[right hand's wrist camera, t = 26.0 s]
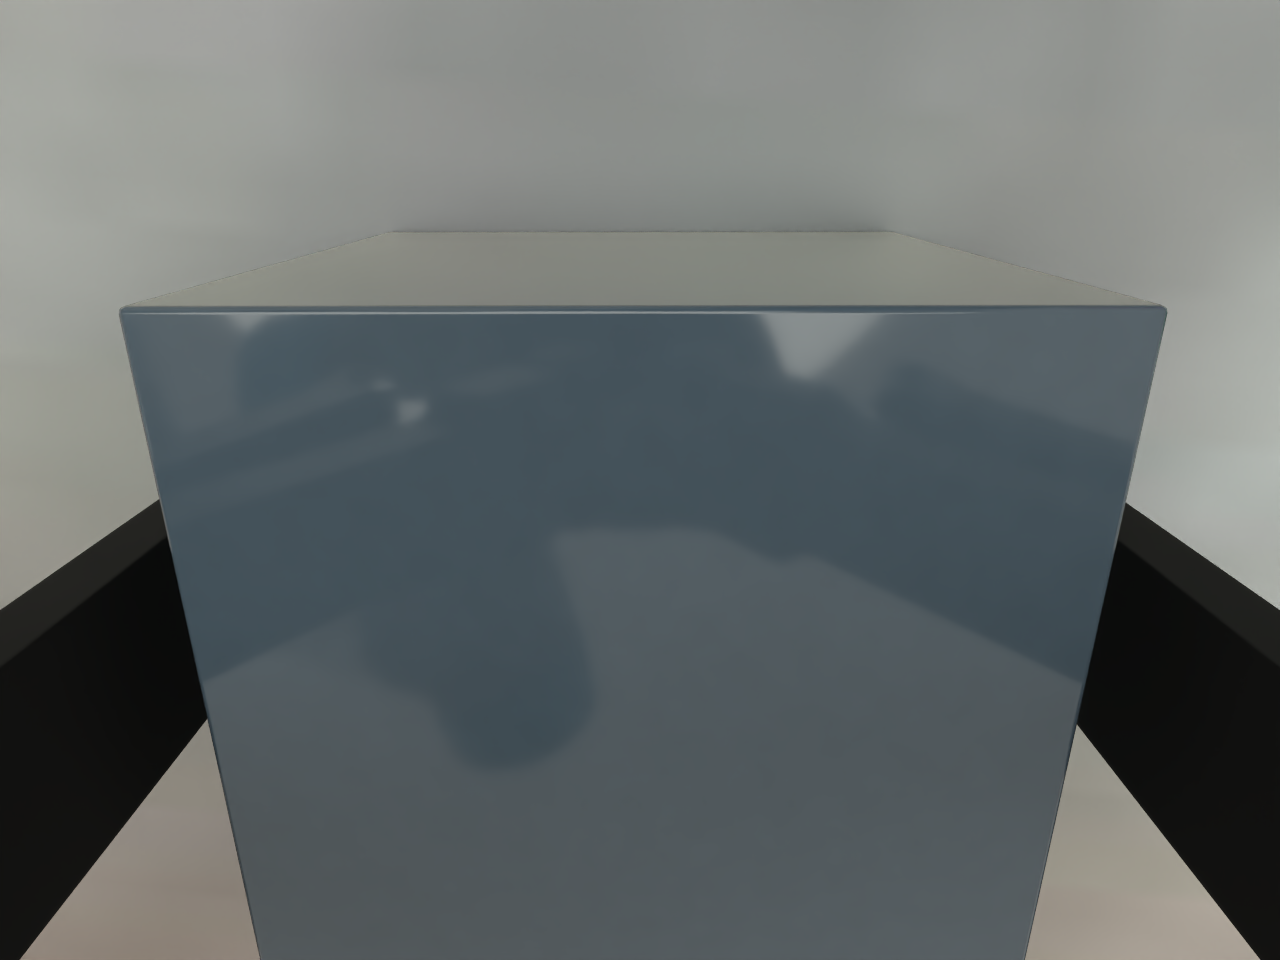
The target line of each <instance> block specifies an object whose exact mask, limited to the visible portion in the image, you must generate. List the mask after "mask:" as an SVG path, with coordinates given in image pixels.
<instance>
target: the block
mask: <svg viewBox="0 0 1280 960" xmlns="http://www.w3.org/2000/svg"><path fill="white" fill-rule="evenodd" d="M1166 316H1167V308H1166V307H1164V306H1162V305H1160V304H1156V303H1152V302H1149V301H1145V300H1141V299H1138V298H1134V297H1130V296H1127V295H1123V294H1119V293H1116V292H1112V291H1108V290H1105V289H1101V288H1097V287H1094V286H1090V285H1086V284H1083V283H1079V282H1075V281H1071V280H1068V279H1064V278H1060V277H1057V276H1053V275H1049V274H1046V273H1042V272H1038V271H1035V270H1031V269H1027V268H1024V267H1020V266H1016V265H1013V264H1009V263H1005V262H1002V261H998V260H994V259H990V258H987V257H983V256H979V255H976V254H972V253H968V252H965V251H961V250H957V249H954V248H950V247H946V246H943V245H939V244H935V243H932V242H928V241H924V240H921V239H917V238H913V237H910V236H906V235H902V234H898V233H895V232H387V233H384V234H380V235H377V236H373V237H370V238H366V239H362V240H359V241H355V242H352V243H348V244H345V245H341V246H337V247H334V248H330V249H327V250H323V251H320V252H316V253H312V254H309V255H305V256H302V257H298V258H295V259H291V260H287V261H284V262H280V263H277V264H273V265H270V266H266V267H263V268H259V269H255V270H252V271H248V272H245V273H241V274H238V275H234V276H230V277H227V278H223V279H220V280H216V281H213V282H209V283H205V284H202V285H198V286H195V287H191V288H188V289H184V290H180V291H177V292H173V293H170V294H166V295H163V296H159V297H155V298H152V299H148V300H145V301H141V302H138V303H134V304H130V305H127V306H124V307H122V308H121V309H120V310H119V317H120V321H121V326H122V331H123V335H124V340H125V344H126V349H127V353H128V358H129V362H130V367H131V372H132V376H133V381H134V385H135V390H136V394H137V399H138V404H139V408H140V413H141V417H142V422H143V426H144V431H145V435H146V440H147V445H148V449H149V454H150V458H151V463H152V467H153V472H154V477H155V481H156V486H157V490H158V495H159V499H160V504H161V508H162V513H163V518H164V522H165V527H166V531H167V536H168V540H169V545H170V550H171V554H172V559H173V563H174V568H175V572H176V577H177V581H178V586H179V591H180V595H181V600H182V604H183V609H184V613H185V618H186V623H187V627H188V632H189V636H190V641H191V645H192V650H193V654H194V659H195V664H196V668H197V673H198V677H199V682H200V686H201V691H202V696H203V700H204V705H205V709H206V714H207V718H208V723H209V727H210V732H211V737H212V741H213V746H214V750H215V755H216V759H217V764H218V769H219V773H220V778H221V782H222V787H223V791H224V796H225V801H226V805H227V810H228V814H229V819H230V823H231V828H232V832H233V837H234V842H235V846H236V851H237V855H238V860H239V864H240V869H241V874H242V878H243V883H244V887H245V892H246V896H247V901H248V905H249V910H250V915H251V919H252V924H253V928H254V933H255V937H256V942H257V947H258V951H259V956H260V960H1025V956H1026V952H1027V947H1028V943H1029V938H1030V933H1031V929H1032V924H1033V920H1034V915H1035V911H1036V906H1037V902H1038V897H1039V893H1040V888H1041V884H1042V879H1043V874H1044V870H1045V865H1046V861H1047V856H1048V852H1049V847H1050V843H1051V838H1052V834H1053V829H1054V825H1055V820H1056V816H1057V811H1058V806H1059V802H1060V797H1061V793H1062V788H1063V784H1064V779H1065V775H1066V770H1067V766H1068V761H1069V757H1070V752H1071V747H1072V743H1073V738H1074V734H1075V729H1076V725H1077V720H1078V716H1079V711H1080V707H1081V702H1082V698H1083V693H1084V688H1085V684H1086V679H1087V675H1088V670H1089V666H1090V661H1091V657H1092V652H1093V648H1094V643H1095V639H1096V634H1097V629H1098V625H1099V620H1100V616H1101V611H1102V607H1103V602H1104V598H1105V593H1106V589H1107V584H1108V580H1109V575H1110V571H1111V566H1112V561H1113V557H1114V552H1115V548H1116V543H1117V539H1118V534H1119V530H1120V525H1121V521H1122V516H1123V512H1124V507H1125V502H1126V498H1127V493H1128V489H1129V484H1130V480H1131V475H1132V471H1133V466H1134V462H1135V457H1136V453H1137V448H1138V443H1139V439H1140V434H1141V430H1142V425H1143V421H1144V416H1145V412H1146V407H1147V403H1148V398H1149V394H1150V389H1151V385H1152V380H1153V375H1154V371H1155V366H1156V362H1157V357H1158V353H1159V348H1160V344H1161V339H1162V335H1163V330H1164V326H1165V321H1166Z"/></svg>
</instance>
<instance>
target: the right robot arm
mask: <svg viewBox="0 0 1280 960" xmlns="http://www.w3.org/2000/svg"><path fill="white" fill-rule="evenodd" d="M206 720H207V714H206V709H205V705H204V700H203V696H202V691H201V686H200V682H199V677H198V673H197V668H196V664H195V659H194V654H193V650H192V645H191V641H190V636H189V632H188V627H187V623H186V618H185V613H184V609H183V604H182V600H181V595H180V591H179V586H178V581H177V577H176V572H175V568H174V563H173V559H172V554H171V550H170V545H169V540H168V536H167V531H166V527H165V522H164V518H163V513H162V508H161V504H160V499H159V500H157V501H156V502H154V503H153V504H152V505H150V506H149V507H147V508H146V509H144V510H143V511H142V512H140V513H139V514H137V515H136V516H134V517H133V518H131V519H130V520H129V521H127V522H126V523H124V524H123V525H121V526H120V527H119V528H117V529H116V530H114V531H113V532H111V533H110V534H109V535H107V536H106V537H104V538H103V539H101V540H100V541H99V542H97V543H96V544H94V545H93V546H91V547H90V548H89V549H87V550H86V551H84V552H83V553H81V554H80V555H79V556H77V557H76V558H74V559H73V560H71V561H70V562H69V563H67V564H66V565H64V566H63V567H61V568H60V569H58V570H57V571H56V572H54V573H53V574H51V575H50V576H48V577H47V578H46V579H44V580H43V581H41V582H40V583H38V584H37V585H36V586H34V587H33V588H31V589H30V590H28V591H27V592H26V593H24V594H23V595H21V596H20V597H18V598H17V599H16V600H14V601H13V602H11V603H10V604H8V605H7V606H6V607H4V608H3V609H1V610H0V960H20V958H21V957H22V956H23V955H24V953H25V952H26V951H27V949H28V948H29V947H30V946H31V944H32V943H33V942H34V940H35V939H36V938H37V937H38V935H39V934H40V933H41V931H42V930H43V929H44V928H45V926H46V925H47V924H48V922H49V921H50V920H51V919H52V917H53V916H54V915H55V914H56V912H57V911H58V910H59V908H60V907H61V906H62V905H63V903H64V902H65V901H66V899H67V898H68V897H69V896H70V894H71V893H72V892H73V890H74V889H75V888H76V887H77V885H78V884H79V883H80V881H81V880H82V879H83V878H84V876H85V875H86V874H87V872H88V871H89V870H90V869H91V867H92V866H93V865H94V863H95V862H96V861H97V860H98V858H99V857H100V856H101V854H102V853H103V852H104V851H105V849H106V848H107V847H108V845H109V844H110V843H111V842H112V840H113V839H114V838H115V836H116V835H117V834H118V833H119V831H120V830H121V829H122V828H123V826H124V825H125V824H126V822H127V821H128V820H129V819H130V817H131V816H132V815H133V813H134V812H135V811H136V810H137V808H138V807H139V806H140V804H141V803H142V802H143V801H144V799H145V798H146V797H147V795H148V794H149V793H150V792H151V790H152V789H153V788H154V786H155V785H156V784H157V783H158V781H159V780H160V779H161V777H162V776H163V775H164V774H165V772H166V771H167V770H168V768H169V767H170V766H171V765H172V763H173V762H174V761H175V759H176V758H177V757H178V756H179V754H180V753H181V752H182V750H183V749H184V748H185V747H186V745H187V744H188V743H189V742H190V740H191V739H192V738H193V736H194V735H195V734H196V733H197V731H198V730H199V729H200V727H201V726H202V725H203V724H204V722H205V721H206ZM1077 725H1078V726H1079V727H1080V729H1081V730H1082V731H1083V733H1084V734H1085V735H1086V736H1087V738H1088V739H1089V740H1090V742H1091V743H1092V744H1093V745H1094V747H1095V748H1096V749H1097V751H1098V752H1099V753H1100V754H1101V756H1102V757H1103V758H1104V760H1105V761H1106V762H1107V763H1108V765H1109V766H1110V767H1111V768H1112V770H1113V771H1114V772H1115V774H1116V775H1117V776H1118V777H1119V779H1120V780H1121V781H1122V783H1123V784H1124V785H1125V786H1126V788H1127V789H1128V790H1129V792H1130V793H1131V794H1132V795H1133V797H1134V798H1135V799H1136V801H1137V802H1138V803H1139V804H1140V806H1141V807H1142V808H1143V810H1144V811H1145V812H1146V813H1147V815H1148V816H1149V817H1150V819H1151V820H1152V821H1153V822H1154V824H1155V825H1156V826H1157V828H1158V829H1159V830H1160V831H1161V833H1162V834H1163V835H1164V837H1165V838H1166V839H1167V840H1168V842H1169V843H1170V844H1171V846H1172V847H1173V848H1174V849H1175V851H1176V852H1177V853H1178V854H1179V856H1180V857H1181V858H1182V860H1183V861H1184V862H1185V863H1186V865H1187V866H1188V867H1189V869H1190V870H1191V871H1192V872H1193V874H1194V875H1195V876H1196V878H1197V879H1198V880H1199V881H1200V883H1201V884H1202V885H1203V887H1204V888H1205V889H1206V890H1207V892H1208V893H1209V894H1210V896H1211V897H1212V898H1213V899H1214V901H1215V902H1216V903H1217V905H1218V906H1219V907H1220V908H1221V910H1222V911H1223V912H1224V914H1225V915H1226V916H1227V917H1228V919H1229V920H1230V921H1231V923H1232V924H1233V925H1234V926H1235V928H1236V929H1237V930H1238V931H1239V933H1240V934H1241V935H1242V937H1243V938H1244V939H1245V940H1246V942H1247V943H1248V944H1249V946H1250V947H1251V948H1252V949H1253V951H1254V952H1255V953H1256V955H1257V956H1258V957H1259V958H1260V960H1280V610H1279V609H1277V608H1276V607H1274V606H1273V605H1272V604H1270V603H1269V602H1267V601H1266V600H1264V599H1263V598H1262V597H1260V596H1259V595H1257V594H1256V593H1254V592H1253V591H1252V590H1250V589H1249V588H1247V587H1246V586H1244V585H1243V584H1242V583H1240V582H1239V581H1237V580H1236V579H1234V578H1233V577H1232V576H1230V575H1229V574H1227V573H1226V572H1224V571H1223V570H1221V569H1220V568H1219V567H1217V566H1216V565H1214V564H1213V563H1211V562H1210V561H1209V560H1207V559H1206V558H1204V557H1203V556H1201V555H1200V554H1199V553H1197V552H1196V551H1194V550H1193V549H1191V548H1190V547H1189V546H1187V545H1186V544H1184V543H1183V542H1181V541H1180V540H1179V539H1177V538H1176V537H1174V536H1173V535H1171V534H1170V533H1169V532H1167V531H1166V530H1164V529H1163V528H1161V527H1160V526H1159V525H1157V524H1156V523H1154V522H1153V521H1151V520H1150V519H1148V518H1147V517H1146V516H1144V515H1143V514H1141V513H1140V512H1138V511H1137V510H1136V509H1134V508H1133V507H1131V506H1130V505H1128V504H1127V503H1126V502H1125V507H1124V512H1123V516H1122V521H1121V525H1120V530H1119V534H1118V539H1117V543H1116V548H1115V552H1114V557H1113V561H1112V566H1111V571H1110V575H1109V580H1108V584H1107V589H1106V593H1105V598H1104V602H1103V607H1102V611H1101V616H1100V620H1099V625H1098V629H1097V634H1096V639H1095V643H1094V648H1093V652H1092V657H1091V661H1090V666H1089V670H1088V675H1087V679H1086V684H1085V688H1084V693H1083V698H1082V702H1081V707H1080V711H1079V716H1078V720H1077Z"/></svg>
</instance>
